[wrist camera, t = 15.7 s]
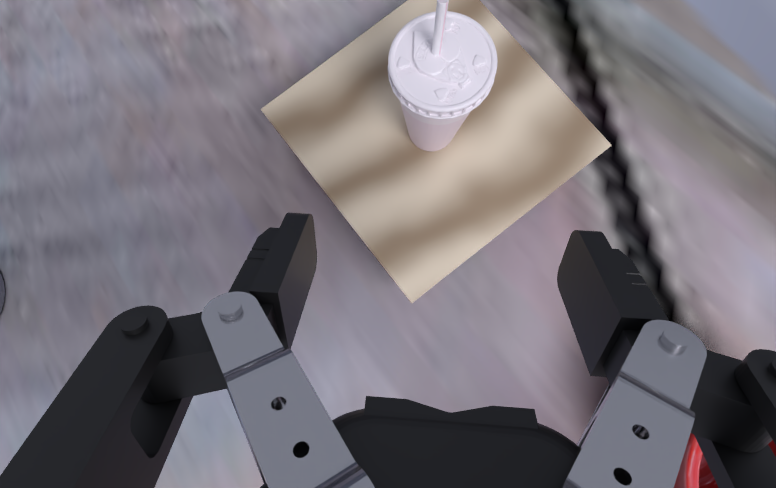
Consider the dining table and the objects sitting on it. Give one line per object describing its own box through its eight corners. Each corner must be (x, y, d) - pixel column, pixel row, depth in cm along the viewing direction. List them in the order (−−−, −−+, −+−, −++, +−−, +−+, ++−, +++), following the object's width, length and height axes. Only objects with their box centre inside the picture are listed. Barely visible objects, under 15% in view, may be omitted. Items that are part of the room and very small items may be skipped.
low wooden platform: (284, 141, 41) (260, 109, 34) (442, 22, 42) (450, -32, 35) (410, 302, 39) (411, 303, 32) (575, 172, 40) (611, 145, 33)
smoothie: (433, 76, 34) (453, -79, 20) (488, 131, 33) (549, 7, 19) (375, 127, 34) (355, 4, 20) (429, 184, 33) (448, 96, 19)
